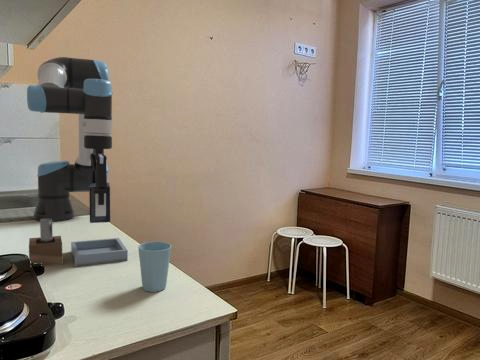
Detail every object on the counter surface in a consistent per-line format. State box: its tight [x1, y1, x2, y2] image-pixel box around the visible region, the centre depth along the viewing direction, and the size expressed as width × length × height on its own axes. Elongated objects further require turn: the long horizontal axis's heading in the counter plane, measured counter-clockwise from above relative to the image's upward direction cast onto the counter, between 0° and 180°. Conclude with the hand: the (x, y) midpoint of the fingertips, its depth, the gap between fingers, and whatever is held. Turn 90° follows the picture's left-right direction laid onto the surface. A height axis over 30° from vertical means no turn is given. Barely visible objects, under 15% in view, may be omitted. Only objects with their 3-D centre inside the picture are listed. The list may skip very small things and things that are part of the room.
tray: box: [70, 237, 129, 267], centre depth 114 cm, size 14×14×3 cm
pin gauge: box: [39, 218, 54, 243], centre depth 108 cm, size 3×3×12 cm
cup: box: [137, 241, 172, 293], centre depth 93 cm, size 8×8×10 cm
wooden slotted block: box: [28, 235, 63, 267], centre depth 108 cm, size 8×8×6 cm
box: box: [88, 182, 111, 224], centre depth 113 cm, size 8×6×11 cm
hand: (98, 212), depth 113 cm, fingers closed on box, 8 cm apart
